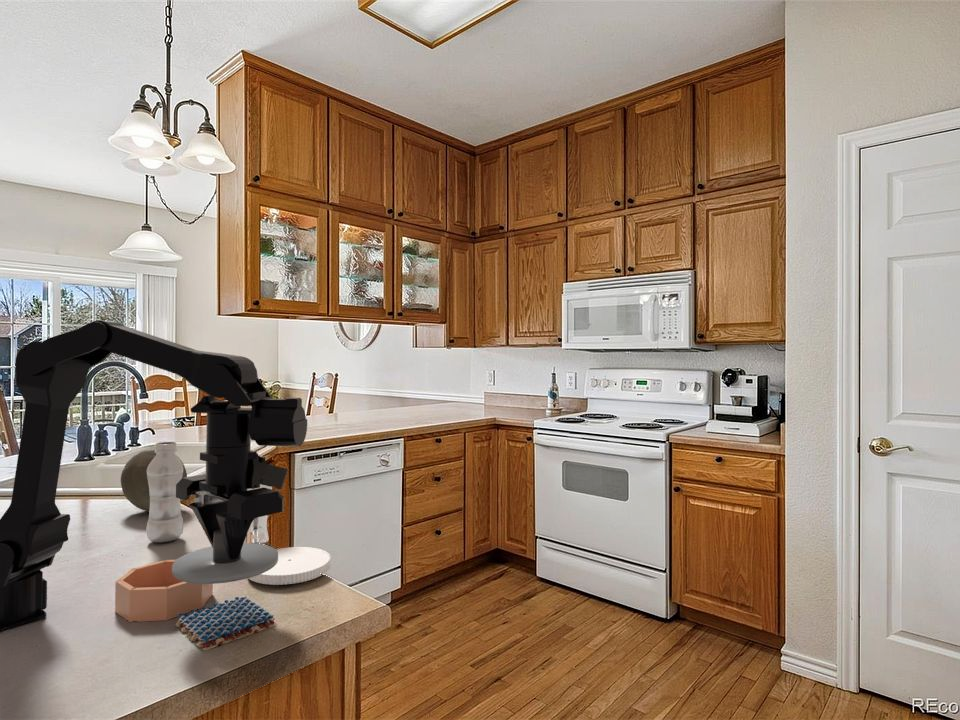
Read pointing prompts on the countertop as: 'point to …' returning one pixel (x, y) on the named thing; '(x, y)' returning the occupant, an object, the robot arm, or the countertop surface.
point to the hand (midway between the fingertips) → (226, 555)
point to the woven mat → (225, 622)
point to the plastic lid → (296, 566)
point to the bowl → (157, 593)
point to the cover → (224, 563)
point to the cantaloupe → (139, 479)
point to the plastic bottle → (164, 494)
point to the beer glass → (258, 527)
